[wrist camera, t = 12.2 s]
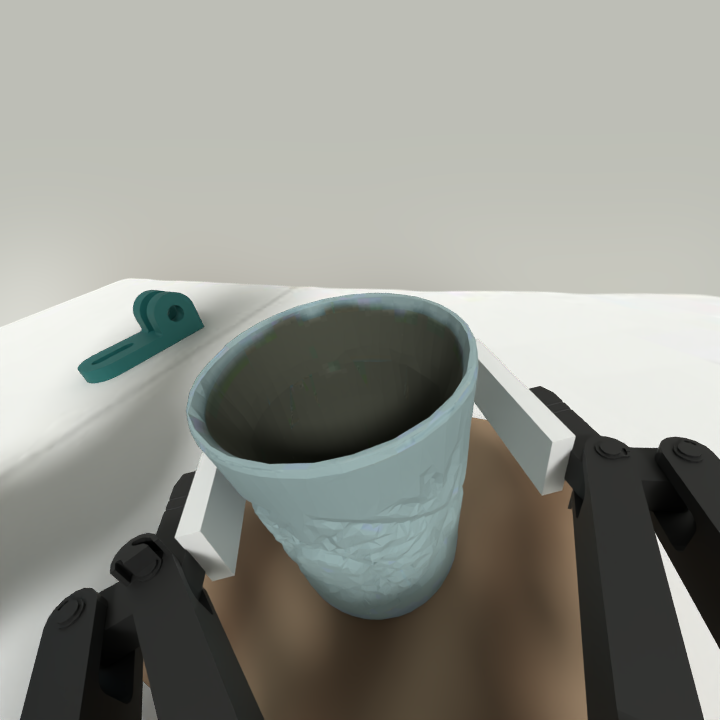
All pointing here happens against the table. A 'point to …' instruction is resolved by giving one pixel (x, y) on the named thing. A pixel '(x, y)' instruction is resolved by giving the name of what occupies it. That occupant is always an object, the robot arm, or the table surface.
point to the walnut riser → (424, 618)
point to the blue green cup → (349, 441)
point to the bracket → (145, 334)
